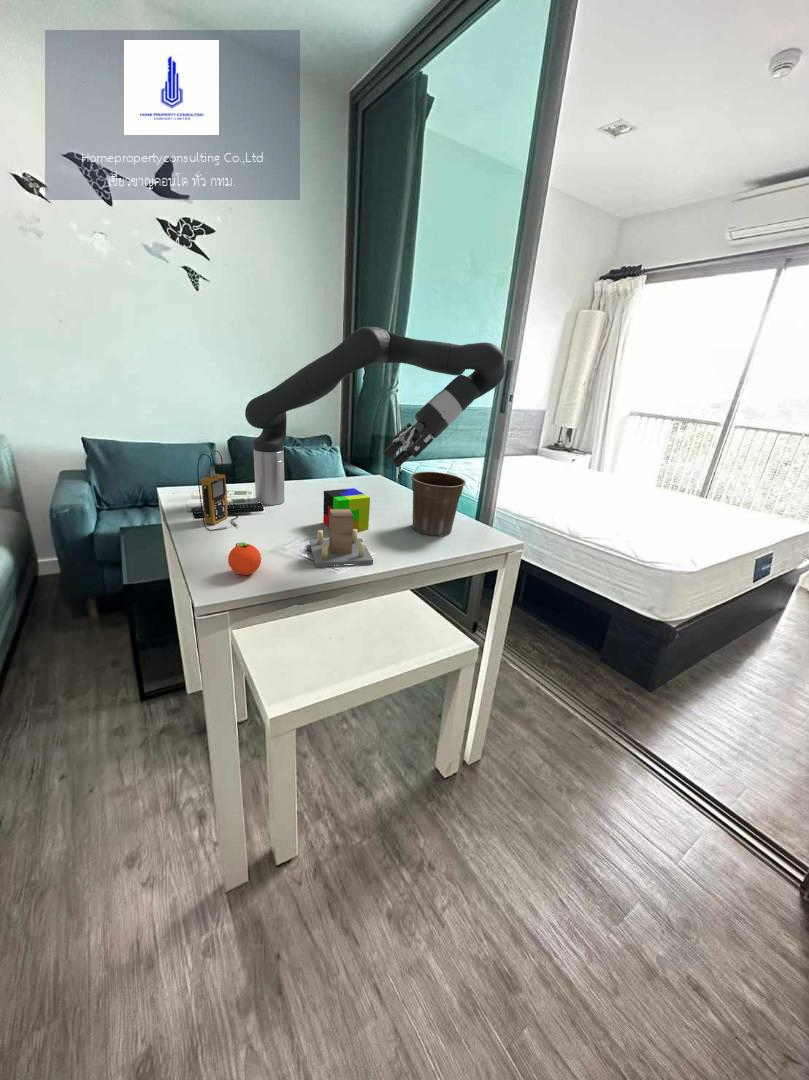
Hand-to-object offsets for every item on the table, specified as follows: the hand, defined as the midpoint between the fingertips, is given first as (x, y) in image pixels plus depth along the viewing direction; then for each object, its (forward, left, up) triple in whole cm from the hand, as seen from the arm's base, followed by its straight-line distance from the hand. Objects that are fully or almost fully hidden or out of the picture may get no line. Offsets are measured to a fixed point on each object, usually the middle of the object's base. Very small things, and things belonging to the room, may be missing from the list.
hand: (389, 460), depth 106 cm
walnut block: (0, -11, -23) cm, 26 cm away
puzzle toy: (-20, -6, -25) cm, 32 cm away
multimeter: (-25, -39, -25) cm, 53 cm away
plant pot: (-15, +20, -25) cm, 35 cm away
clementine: (+8, -34, -25) cm, 43 cm away
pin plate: (0, -11, -24) cm, 27 cm away
